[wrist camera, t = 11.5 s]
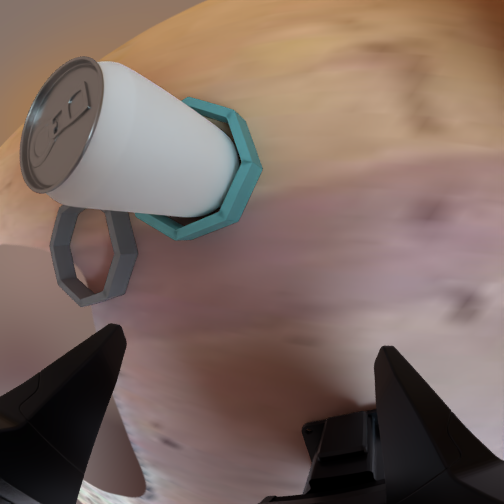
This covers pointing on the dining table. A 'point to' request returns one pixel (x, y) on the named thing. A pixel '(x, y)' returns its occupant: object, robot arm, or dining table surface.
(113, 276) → the socket
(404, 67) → the dining table surface
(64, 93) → the can
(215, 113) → the socket
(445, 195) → the dining table surface
